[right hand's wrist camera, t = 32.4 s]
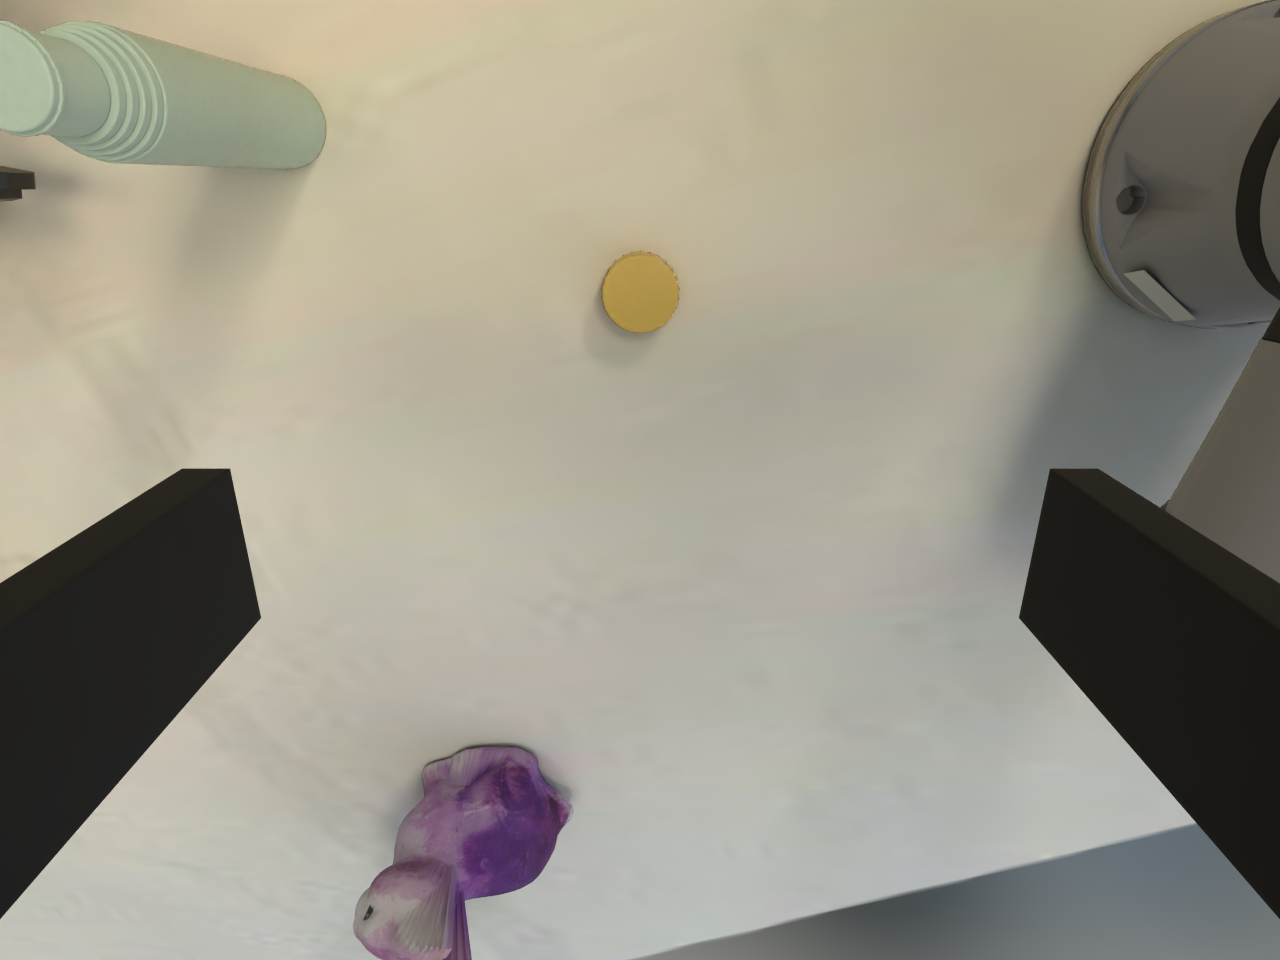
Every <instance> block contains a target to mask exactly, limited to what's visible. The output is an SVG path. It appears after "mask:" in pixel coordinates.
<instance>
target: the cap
mask: <svg viewBox="0 0 1280 960" xmlns="http://www.w3.org/2000/svg"><path fill="white" fill-rule="evenodd" d="M604 280H605V281H604V284H603V286H602V289H603V291H602V299H603V303H604V308H605V309H606V311H607V313H608V315H609V316H610V318H611V319H612V320H613V321H614V322H615V323H616V324H617V325H618V326H620V327H621V328H623V329H625V330H628V331H631V332H636V333H644V332H650V331H653V330H656V329H658V328H660V327H661V326H663V325H664V324H665V323H666V322H667V321H668V320H669V319H670V318H671V317H672V315H673V313H674V311H675V309H676V308H677V303H678V300H679V291H678V290H679V286H678V284H677V281H678V280H677V277H676V276H674V273H673V269H672V268H670V267H669V265H668V264H667V261H664V260H663V259H661V258H660V256H656V255H654V254H651V252H649V253H646V252H642V251H640V252H634V253H633V252H631V253H630V254H627V255H625V256H624V255H623V256H622V257H621V258H620V259H619V260H617V261H615V263H614V264H613V265H612V267H609V270H608V273H607V276H606V275H605V278H604Z"/></svg>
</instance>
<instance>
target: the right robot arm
mask: <svg viewBox="0 0 1280 960" xmlns="http://www.w3.org/2000/svg"><path fill="white" fill-rule="evenodd" d="M1082 210H1083V225H1084V232H1085V237H1086V241H1087V245H1088V248H1089V251H1090V254H1091V257H1092V259H1093V261H1094V263H1095V265H1096V267H1097V270H1098V271H1099V273H1100V274H1101V276H1102V277H1103V279H1104V280H1105V282H1106V283H1107V284H1108V285H1109V287H1110V288H1111V289H1112V290H1113V291H1114V292H1115V293H1116V294H1117V295H1118V296H1119V297H1120V298H1121V299H1123V300H1124V301H1125V302H1127V303H1128V304H1129V305H1131V306H1132V307H1134V308H1136V309H1138V310H1139V311H1141V312H1143V313H1146V314H1148V315H1150V316H1153V317H1156V318H1159V319H1163V320H1166V321H1170V322H1174V323H1177V324H1181V325H1185V326H1191V327H1197V328H1235V327H1244V326H1249V325H1255V324H1259V323H1264V322H1268V321H1272V322H1271V323H1270V325H1269V327H1268V329H1267V331H1266V332H1265V334H1264V336H1263V337H1262V339H1260V341H1259V343H1258V345H1257V347H1256V348H1255V350H1254V352H1253V354H1252V356H1251V357H1250V359H1249V361H1248V363H1247V365H1246V367H1245V368H1244V370H1243V372H1242V374H1241V376H1240V377H1239V379H1238V381H1237V383H1236V385H1235V386H1234V388H1233V390H1232V392H1231V394H1230V395H1229V397H1228V399H1227V401H1226V403H1225V404H1224V406H1223V408H1222V410H1221V412H1220V414H1219V415H1218V417H1217V419H1216V421H1215V422H1214V424H1213V426H1212V428H1211V429H1210V431H1209V433H1208V435H1207V436H1206V438H1205V440H1204V441H1203V443H1202V445H1201V447H1200V448H1199V450H1198V452H1197V454H1196V455H1195V457H1194V459H1193V460H1192V462H1191V464H1190V466H1189V467H1188V469H1187V471H1186V473H1185V474H1184V476H1183V478H1182V480H1181V481H1180V483H1179V485H1178V486H1177V488H1176V490H1175V492H1174V493H1173V495H1172V497H1171V499H1170V500H1168V501H1167V502H1166V503H1165V504H1164V505H1163V506H1162V507H1161V508H1159V507H1158V506H1156V505H1155V504H1153V503H1152V502H1150V501H1148V500H1147V499H1145V498H1144V497H1142V496H1140V495H1139V494H1137V493H1136V492H1134V491H1132V490H1131V489H1129V488H1128V487H1126V486H1125V485H1123V484H1121V483H1120V482H1118V481H1117V480H1115V479H1113V478H1112V477H1110V476H1109V475H1107V474H1105V473H1104V472H1102V471H1101V470H1099V469H1050V472H1049V476H1048V481H1047V486H1046V491H1045V496H1044V500H1043V505H1042V510H1041V515H1040V519H1039V524H1038V529H1037V534H1036V539H1035V543H1034V548H1033V553H1032V558H1031V563H1030V567H1029V572H1028V577H1027V582H1026V587H1025V591H1024V596H1023V601H1022V606H1021V611H1020V615H1019V618H1020V620H1021V621H1022V622H1023V623H1024V624H1025V625H1026V627H1027V628H1028V629H1029V630H1030V631H1031V632H1032V633H1033V635H1034V636H1035V637H1036V638H1037V639H1038V640H1039V642H1040V643H1041V644H1042V645H1043V646H1044V647H1045V648H1046V650H1047V651H1048V652H1049V653H1050V654H1051V655H1052V657H1053V658H1054V659H1055V660H1056V661H1057V662H1058V663H1059V665H1060V666H1061V667H1062V668H1063V669H1064V670H1065V672H1066V673H1067V674H1068V675H1069V676H1070V677H1071V678H1072V680H1073V681H1074V682H1075V683H1076V684H1077V685H1078V687H1079V688H1080V689H1081V690H1082V691H1083V692H1084V693H1085V695H1086V696H1087V697H1088V698H1089V699H1090V700H1091V702H1092V703H1093V704H1094V705H1095V706H1096V707H1097V709H1098V710H1099V711H1100V712H1101V713H1102V714H1103V715H1104V717H1105V718H1106V719H1107V720H1108V721H1109V722H1110V724H1111V725H1112V726H1113V727H1114V728H1115V729H1116V730H1117V732H1118V733H1119V734H1120V735H1121V736H1122V737H1123V739H1124V740H1125V741H1126V742H1127V743H1128V744H1129V745H1130V747H1131V748H1132V749H1133V750H1134V751H1135V752H1136V754H1137V755H1138V756H1139V757H1140V758H1141V759H1142V760H1143V762H1144V763H1145V764H1146V765H1147V766H1148V767H1149V769H1150V770H1151V771H1152V772H1153V773H1154V774H1155V775H1156V777H1157V778H1158V779H1159V780H1160V781H1161V782H1162V784H1163V785H1164V786H1165V787H1166V788H1167V789H1168V790H1169V792H1170V793H1171V794H1172V795H1173V796H1174V797H1175V799H1176V800H1177V801H1178V802H1179V803H1180V804H1181V806H1182V807H1183V808H1184V809H1185V810H1186V811H1187V812H1188V814H1189V815H1190V816H1191V817H1192V818H1193V819H1194V821H1195V822H1196V823H1197V824H1198V825H1199V826H1200V827H1201V829H1202V830H1203V831H1204V832H1205V833H1206V834H1207V835H1208V837H1209V838H1210V839H1211V840H1212V841H1213V842H1214V844H1215V845H1216V846H1217V847H1218V848H1219V849H1220V851H1221V852H1222V853H1223V854H1224V855H1225V856H1226V857H1227V859H1228V860H1229V861H1230V862H1231V863H1232V864H1233V866H1234V867H1235V868H1236V869H1237V870H1238V871H1239V872H1240V874H1241V875H1242V876H1243V877H1244V878H1245V879H1246V881H1247V882H1248V883H1249V884H1250V885H1251V886H1252V887H1253V889H1254V890H1255V891H1256V892H1257V893H1258V894H1259V895H1260V897H1261V898H1262V899H1263V900H1264V901H1265V902H1266V904H1267V905H1268V906H1269V907H1270V908H1271V909H1272V911H1273V912H1274V913H1275V914H1276V915H1277V916H1278V917H1279V919H1280V0H1269V1H1265V2H1261V3H1258V4H1254V5H1250V6H1247V7H1243V8H1240V9H1236V10H1233V11H1230V12H1227V13H1225V14H1222V15H1219V16H1216V17H1214V18H1212V19H1210V20H1208V21H1206V22H1203V23H1201V24H1200V25H1198V26H1196V27H1194V28H1193V29H1191V30H1189V31H1187V32H1186V33H1184V34H1183V35H1181V36H1180V37H1178V38H1177V39H1175V40H1174V41H1173V42H1171V43H1170V44H1169V45H1167V46H1166V47H1165V48H1164V49H1163V50H1161V51H1160V52H1159V53H1158V54H1156V55H1155V56H1154V57H1153V58H1152V59H1151V60H1150V61H1149V62H1148V63H1147V64H1146V65H1145V66H1144V67H1143V68H1142V69H1141V70H1140V71H1139V73H1138V74H1137V75H1136V76H1135V77H1134V78H1133V79H1132V80H1131V82H1130V83H1129V84H1128V86H1127V87H1126V88H1125V90H1124V91H1123V92H1122V94H1121V95H1120V96H1119V98H1118V100H1117V101H1116V103H1115V104H1114V106H1113V107H1112V109H1111V110H1110V112H1109V114H1108V116H1107V118H1106V120H1105V122H1104V123H1103V125H1102V128H1101V130H1100V132H1099V134H1098V137H1097V139H1096V141H1095V144H1094V147H1093V150H1092V153H1091V155H1090V159H1089V163H1088V167H1087V171H1086V176H1085V182H1084V188H1083V201H1082ZM260 618H261V615H260V611H259V606H258V601H257V596H256V591H255V587H254V582H253V577H252V572H251V567H250V563H249V558H248V553H247V548H246V543H245V539H244V534H243V529H242V524H241V519H240V515H239V510H238V505H237V500H236V496H235V491H234V486H233V481H232V476H231V472H230V469H181V470H179V471H178V472H176V473H175V474H173V475H171V476H170V477H168V478H167V479H165V480H163V481H162V482H160V483H159V484H157V485H155V486H154V487H152V488H151V489H149V490H148V491H146V492H144V493H143V494H141V495H140V496H138V497H136V498H135V499H133V500H132V501H130V502H128V503H127V504H125V505H124V506H122V507H121V508H119V509H117V510H116V511H114V512H113V513H111V514H109V515H108V516H106V517H105V518H103V519H101V520H100V521H98V522H97V523H95V524H94V525H92V526H90V527H89V528H87V529H86V530H84V531H82V532H81V533H79V534H78V535H76V536H74V537H73V538H71V539H70V540H68V541H67V542H65V543H63V544H62V545H60V546H59V547H57V548H55V549H54V550H52V551H51V552H49V553H48V554H46V555H44V556H43V557H41V558H40V559H38V560H36V561H35V562H33V563H32V564H30V565H28V566H27V567H25V568H24V569H22V570H21V571H19V572H17V573H16V574H14V575H13V576H11V577H9V578H8V579H6V580H5V581H3V582H1V583H0V919H1V918H2V916H3V915H4V914H5V913H6V912H7V911H8V909H9V908H10V907H11V906H12V905H13V904H14V902H15V901H16V900H17V899H18V898H19V897H20V896H21V894H22V893H23V892H24V891H25V890H26V889H27V887H28V886H29V885H30V884H31V883H32V882H33V881H34V879H35V878H36V877H37V876H38V875H39V874H40V872H41V871H42V870H43V869H44V868H45V867H46V866H47V864H48V863H49V862H50V861H51V860H52V859H53V857H54V856H55V855H56V854H57V853H58V852H59V851H60V849H61V848H62V847H63V846H64V845H65V844H66V842H67V841H68V840H69V839H70V838H71V837H72V836H73V834H74V833H75V832H76V831H77V830H78V829H79V827H80V826H81V825H82V824H83V823H84V822H85V821H86V819H87V818H88V817H89V816H90V815H91V814H92V812H93V811H94V810H95V809H96V808H97V807H98V806H99V804H100V803H101V802H102V801H103V800H104V799H105V797H106V796H107V795H108V794H109V793H110V792H111V790H112V789H113V788H114V787H115V786H116V785H117V784H118V782H119V781H120V780H121V779H122V778H123V777H124V775H125V774H126V773H127V772H128V771H129V770H130V769H131V767H132V766H133V765H134V764H135V763H136V762H137V760H138V759H139V758H140V757H141V756H142V755H143V754H144V752H145V751H146V750H147V749H148V748H149V747H150V745H151V744H152V743H153V742H154V741H155V740H156V739H157V737H158V736H159V735H160V734H161V733H162V732H163V730H164V729H165V728H166V727H167V726H168V725H169V724H170V722H171V721H172V720H173V719H174V718H175V717H176V715H177V714H178V713H179V712H180V711H181V710H182V709H183V707H184V706H185V705H186V704H187V703H188V702H189V700H190V699H191V698H192V697H193V696H194V695H195V693H196V692H197V691H198V690H199V689H200V688H201V687H202V685H203V684H204V683H205V682H206V681H207V680H208V678H209V677H210V676H211V675H212V674H213V673H214V672H215V670H216V669H217V668H218V667H219V666H220V665H221V663H222V662H223V661H224V660H225V659H226V658H227V657H228V655H229V654H230V653H231V652H232V651H233V650H234V648H235V647H236V646H237V645H238V644H239V643H240V642H241V640H242V639H243V638H244V637H245V636H246V635H247V633H248V632H249V631H250V630H251V629H252V628H253V627H254V625H255V624H256V623H257V622H258V621H259V620H260Z"/></svg>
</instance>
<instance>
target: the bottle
mask: <svg viewBox="0 0 1280 960" xmlns="http://www.w3.org/2000/svg"><path fill="white" fill-rule="evenodd" d="M0 130H2V131H5V132H7V133H9V134H12V135H18V136H23V137H28V136H39V135H50V136H52V137H54V138H56V139H57V140H58V141H60V142H62V143H64V144H65V145H67V146H68V147H70V148H72V149H73V150H75V151H77V152H79V153H81V154H83V155H85V156H88V157H90V158H94V159H97V160H101V161H104V162H109V163H123V164H154V165H185V166H216V167H246V168H277V169H295V168H300V167H303V166H305V165H307V164H309V163H310V162H312V161H313V160H314V159H315V158H316V157H317V156H318V154H319V153H320V151H321V149H322V147H323V144H324V141H325V135H326V125H325V119H324V115H323V112H322V109H321V107H320V105H319V103H318V101H317V100H316V98H315V97H314V96H313V95H312V93H311V92H310V91H309V90H308V89H307V88H306V87H304V86H303V85H302V84H300V83H299V82H297V81H295V80H293V79H291V78H288V77H284V76H281V75H277V74H274V73H271V72H267V71H264V70H260V69H257V68H253V67H250V66H247V65H243V64H240V63H236V62H233V61H229V60H226V59H222V58H219V57H216V56H212V55H209V54H205V53H202V52H198V51H195V50H192V49H188V48H185V47H181V46H178V45H174V44H171V43H168V42H164V41H161V40H157V39H154V38H150V37H147V36H144V35H140V34H137V33H133V32H130V31H126V30H123V29H120V28H116V27H113V26H109V25H106V24H102V23H98V22H91V21H71V22H66V23H62V24H59V25H56V26H54V27H51V28H49V29H46V30H43V31H40V32H38V33H37V32H33V31H29V30H25V29H23V28H21V27H19V24H14V23H10V22H6V21H1V20H0Z"/></svg>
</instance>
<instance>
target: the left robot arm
mask: <svg viewBox="0 0 1280 960" xmlns="http://www.w3.org/2000/svg"><path fill="white" fill-rule="evenodd" d="M21 189H36V185H35V175H34V172H31V171H26V170H20V169H15V168H10V167H4V166H0V201H13V200H17V199H21V198H22V191H21Z"/></svg>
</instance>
